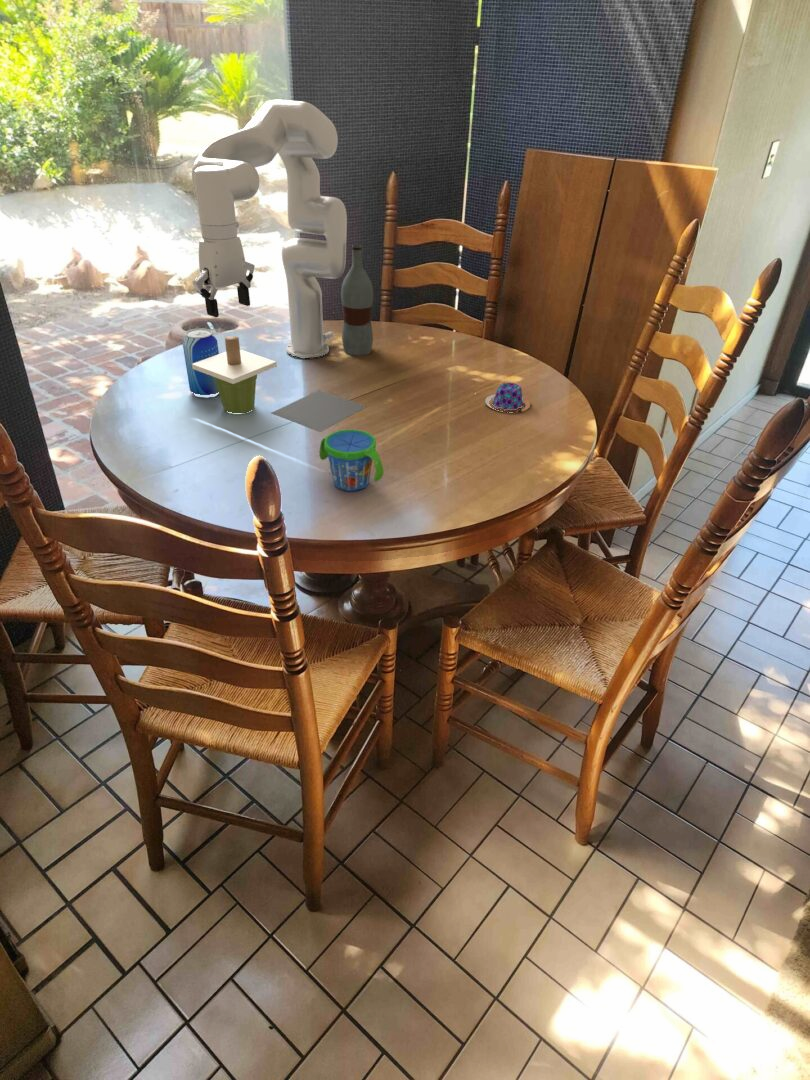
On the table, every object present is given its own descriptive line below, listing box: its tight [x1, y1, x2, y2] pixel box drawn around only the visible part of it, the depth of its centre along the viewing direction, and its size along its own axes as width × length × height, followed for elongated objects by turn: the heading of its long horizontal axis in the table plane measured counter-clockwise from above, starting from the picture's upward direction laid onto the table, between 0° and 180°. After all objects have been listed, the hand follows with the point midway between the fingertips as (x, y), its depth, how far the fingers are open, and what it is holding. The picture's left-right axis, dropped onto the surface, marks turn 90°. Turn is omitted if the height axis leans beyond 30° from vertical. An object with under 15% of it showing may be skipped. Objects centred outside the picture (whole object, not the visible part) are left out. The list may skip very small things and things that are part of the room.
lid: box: [192, 335, 277, 384], centre depth 167 cm, size 14×14×7 cm
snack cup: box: [318, 429, 384, 492], centre depth 146 cm, size 16×10×10 cm
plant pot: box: [214, 374, 258, 414], centre depth 172 cm, size 12×12×11 cm
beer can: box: [182, 327, 220, 395], centre depth 179 cm, size 8×8×16 cm
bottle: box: [340, 244, 374, 357], centre depth 202 cm, size 9×9×30 cm
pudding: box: [484, 382, 524, 414], centre depth 182 cm, size 12×12×5 cm
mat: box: [271, 389, 368, 432], centre depth 176 cm, size 18×16×1 cm
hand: (229, 310), depth 161 cm, fingers open, 9 cm apart
